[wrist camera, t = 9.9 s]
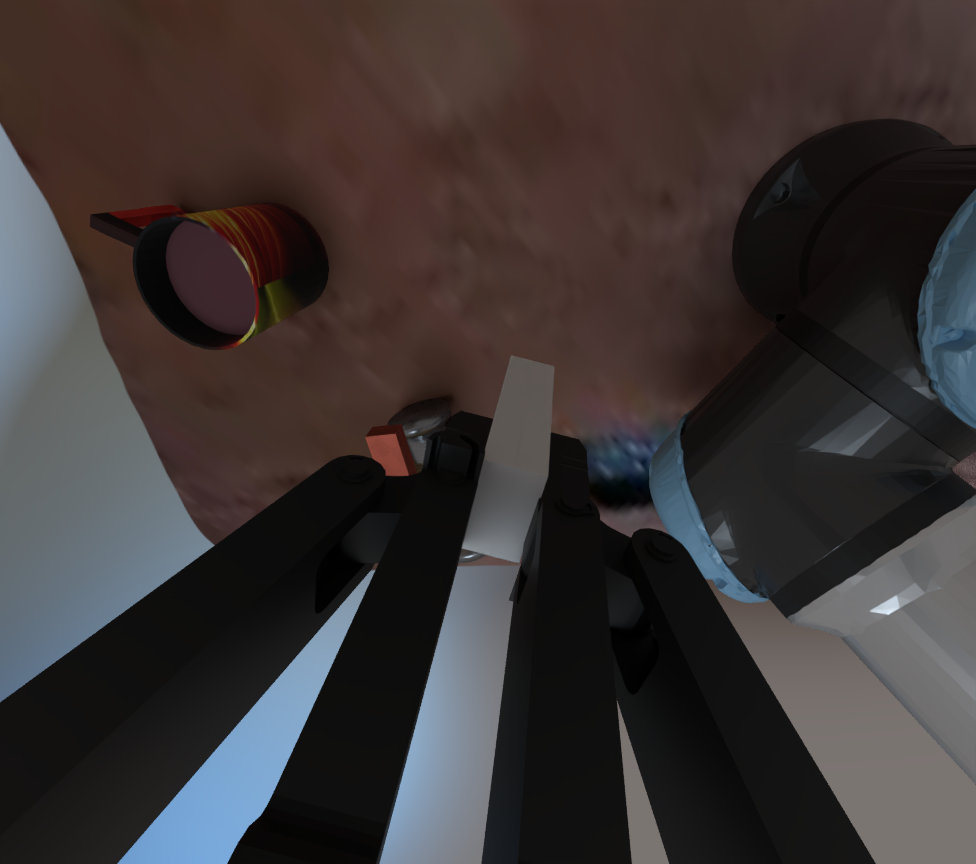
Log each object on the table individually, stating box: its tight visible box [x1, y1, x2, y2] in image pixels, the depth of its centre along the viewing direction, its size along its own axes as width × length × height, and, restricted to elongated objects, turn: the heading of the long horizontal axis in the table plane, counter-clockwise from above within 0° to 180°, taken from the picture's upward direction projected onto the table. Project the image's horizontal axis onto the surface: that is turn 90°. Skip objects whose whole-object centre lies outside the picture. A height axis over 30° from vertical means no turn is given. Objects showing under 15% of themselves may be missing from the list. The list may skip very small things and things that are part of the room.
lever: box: [365, 424, 417, 476], centre depth 42 cm, size 14×4×5 cm, turn 11°
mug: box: [90, 203, 329, 350], centre depth 41 cm, size 10×14×12 cm
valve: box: [387, 399, 485, 563], centre depth 51 cm, size 17×8×9 cm, turn 18°
